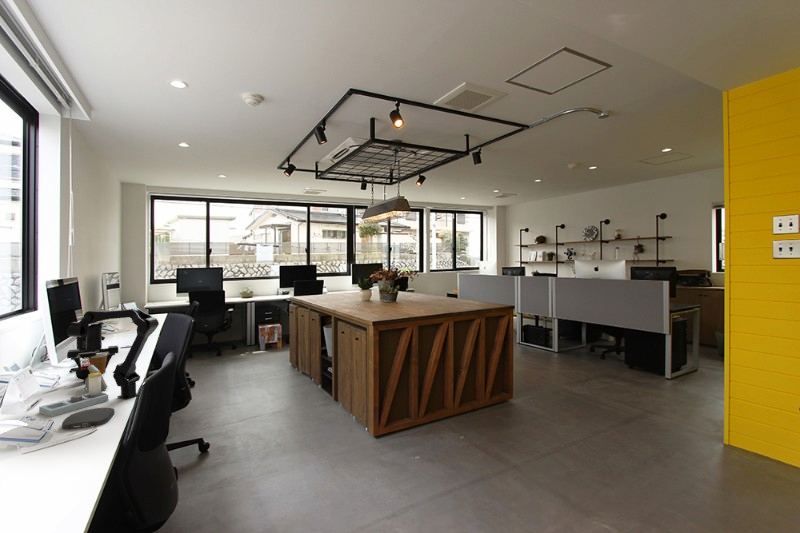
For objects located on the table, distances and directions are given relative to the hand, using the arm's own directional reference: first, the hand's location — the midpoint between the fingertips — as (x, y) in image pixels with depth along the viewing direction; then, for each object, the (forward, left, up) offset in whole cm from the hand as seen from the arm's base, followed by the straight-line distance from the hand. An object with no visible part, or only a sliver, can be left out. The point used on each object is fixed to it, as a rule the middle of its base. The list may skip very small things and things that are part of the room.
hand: (93, 369), depth 180 cm
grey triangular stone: (+13, -8, -13) cm, 20 cm away
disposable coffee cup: (+40, -22, -13) cm, 47 cm away
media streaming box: (-29, +15, -13) cm, 36 cm away
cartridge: (-6, +2, -10) cm, 12 cm away
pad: (-6, +2, -10) cm, 12 cm away
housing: (-6, +10, -13) cm, 17 cm away
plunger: (-6, +9, -12) cm, 16 cm away
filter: (+28, -12, -13) cm, 33 cm away
